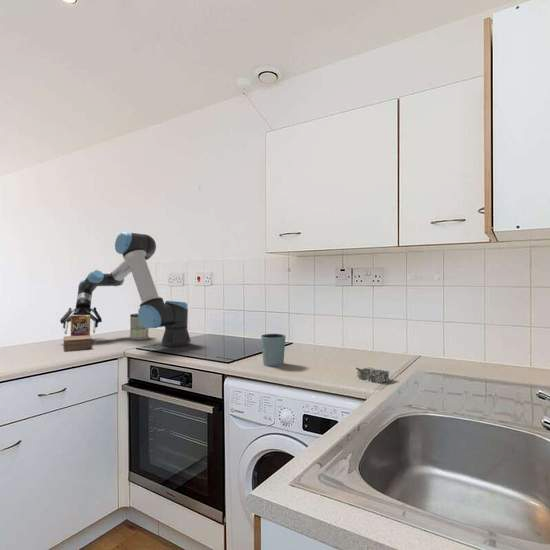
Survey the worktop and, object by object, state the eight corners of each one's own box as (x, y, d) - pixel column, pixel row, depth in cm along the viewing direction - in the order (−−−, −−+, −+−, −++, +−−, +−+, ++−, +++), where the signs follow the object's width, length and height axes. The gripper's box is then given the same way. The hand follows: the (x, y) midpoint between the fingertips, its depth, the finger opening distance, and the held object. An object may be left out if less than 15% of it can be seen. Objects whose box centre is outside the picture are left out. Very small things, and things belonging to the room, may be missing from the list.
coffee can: (127, 337, 218) (127, 314, 218) (144, 336, 224) (145, 313, 224) (133, 340, 210) (133, 315, 210) (151, 338, 216) (151, 314, 216)
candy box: (70, 344, 196) (70, 315, 196) (72, 342, 200) (72, 314, 200) (88, 343, 198) (88, 315, 198) (90, 342, 202) (90, 314, 202)
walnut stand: (91, 348, 184) (91, 338, 184) (64, 350, 178) (64, 340, 178) (89, 344, 196) (89, 334, 196) (63, 346, 190) (63, 336, 190)
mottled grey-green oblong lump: (354, 378, 132) (354, 367, 132) (366, 375, 137) (366, 364, 138) (380, 384, 124) (380, 372, 125) (392, 380, 130) (391, 369, 130)
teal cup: (287, 362, 156) (288, 334, 156) (281, 368, 146) (282, 337, 146) (265, 360, 159) (265, 333, 159) (257, 366, 149) (257, 336, 149)
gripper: (107, 306, 218) (105, 335, 204) (59, 307, 209) (54, 337, 195) (107, 297, 213) (105, 326, 199) (58, 298, 205) (52, 328, 190)
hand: (79, 332), depth 197 cm, fingers open, 13 cm apart
